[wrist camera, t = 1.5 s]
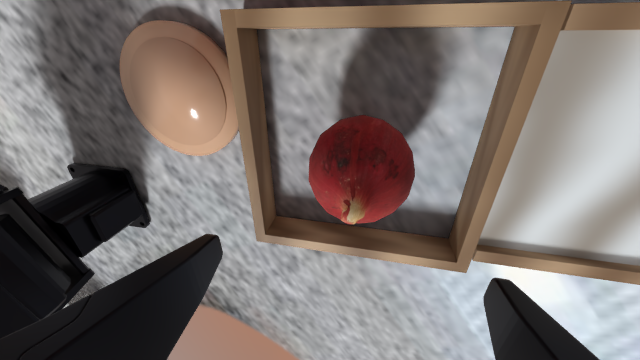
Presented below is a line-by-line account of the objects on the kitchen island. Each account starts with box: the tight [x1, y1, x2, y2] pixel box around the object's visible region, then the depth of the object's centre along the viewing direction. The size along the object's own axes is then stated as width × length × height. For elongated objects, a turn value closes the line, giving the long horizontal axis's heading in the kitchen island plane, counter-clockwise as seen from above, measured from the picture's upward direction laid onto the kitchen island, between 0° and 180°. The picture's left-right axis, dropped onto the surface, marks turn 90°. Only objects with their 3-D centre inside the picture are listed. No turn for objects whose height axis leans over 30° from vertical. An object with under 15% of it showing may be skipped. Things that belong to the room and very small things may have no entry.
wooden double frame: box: [220, 1, 640, 285], centre depth 15 cm, size 32×16×2 cm, turn 90°
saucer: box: [120, 20, 239, 156], centre depth 18 cm, size 9×9×1 cm
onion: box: [309, 115, 415, 224], centre depth 14 cm, size 6×6×8 cm
